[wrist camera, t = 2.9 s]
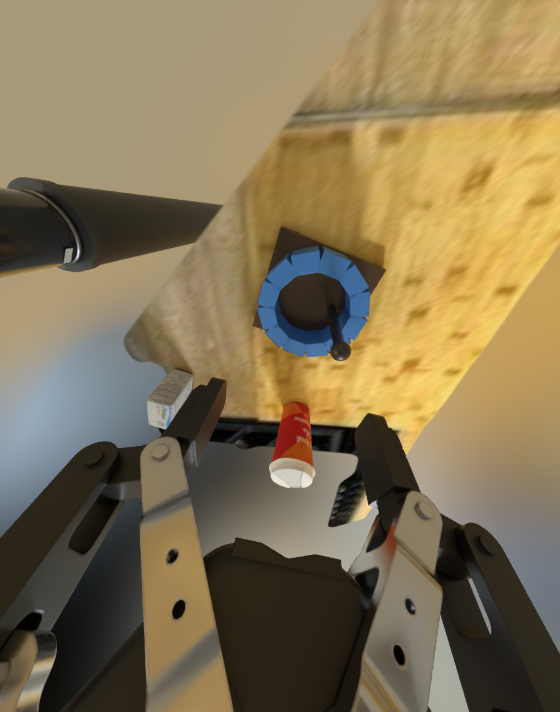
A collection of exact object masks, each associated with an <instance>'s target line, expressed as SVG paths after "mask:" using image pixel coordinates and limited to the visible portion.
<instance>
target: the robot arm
mask: <svg viewBox="0 0 560 712" xmlns="http://www.w3.org/2000/svg"><path fill="white" fill-rule="evenodd" d="M83 255H84V243H83V239H82V236H81V234H80V231H79V229H78V227H77V226H76V224H75V222H74V221H73V219H72V218H71V217H70V215H69V214H68V213H67V212H66V211H65V210H64V209H63V208H62V207H61V206H60V205H59V204H58V203H57V202H56V201H54V200H53V199H52V198H50V197H49V196H47V195H45V194H43V193H41V192H38V191H35V190H27V189H6V188H0V278H1V277H6V276H11V275H16V274H21V273H26V272H31V271H36V270H41V269H46V268H52V267H57V266H62V265H71V264H75V263H78V262H79V261H80V260H81V259H82V258H83ZM226 384H227V381H226V380H223V379H218V378H214V377H212V378H211V380H210V382H209V383H208V385H207V386H205V385H199V386H198V387H196V388H195V389H193V390H192V391H191V393H190V394H189V396H188V397H187V399H186V400H185V402H184V403H183V405H182V407H181V408H180V409H179V411H178V412H177V414H176V415H175V417H174V418H173V420H172V421H171V423H170V424H169V426H168V427H167V429H166V430H165V432H164V433H163V434H162V435H161V436H160V437H159V438H157V439H155V440H153V441H152V442H150V443H149V444H147V445H143V446H137V447H127V448H117V447H116V445H115V444H113V443H111V442H106V441H103V442H97V443H94V444H91V445H89V446H87V447H85V448H84V449H82V450H81V451H79V452H78V453H77V454H76V455H75V456H74V457H73V458H72V459H71V460H70V462H69V463H68V464H67V465H66V466H65V467H64V468H63V469H62V470H61V472H60V473H59V474H58V475H57V476H56V477H55V478H54V479H53V480H52V481H51V483H50V484H49V485H48V486H47V487H46V488H45V489H44V490H43V491H42V493H41V494H40V495H39V496H38V497H37V498H36V499H35V500H34V501H33V503H32V504H31V505H30V506H29V507H28V508H27V509H26V510H25V511H24V513H23V514H22V515H21V516H20V517H19V518H18V519H17V521H15V522H14V524H13V525H12V526H11V527H10V528H9V529H8V530H7V531H6V533H5V534H4V535H3V536H2V537H1V538H0V712H38V707H39V701H40V696H41V692H42V690H43V687H44V684H45V682H46V679H47V677H48V675H49V673H50V670H51V668H52V666H53V663H54V659H55V655H56V647H57V644H56V639H55V636H54V635H53V633H51V632H50V630H51V628H52V627H53V625H54V623H55V622H56V620H57V618H58V616H59V615H60V613H61V611H62V609H63V608H64V606H65V604H66V603H67V601H68V599H69V598H70V596H71V594H72V592H73V591H74V589H75V587H76V586H77V584H78V582H79V580H80V579H81V577H82V575H83V574H84V572H85V570H86V569H87V567H88V565H89V563H90V562H91V560H92V558H93V556H94V555H95V553H96V551H97V549H98V548H99V546H100V544H101V543H102V541H103V539H104V538H105V536H106V534H107V533H108V531H109V529H110V527H111V526H112V524H113V522H114V521H115V519H116V517H117V515H118V513H119V512H120V510H121V508H122V507H123V505H124V503H125V502H126V500H127V499H132V498H138V497H142V505H143V515H142V518H141V521H140V541H141V542H140V543H141V566H142V590H143V613H144V621H143V622H142V624H141V625H140V626H139V627H138V628H137V629H136V630H135V631H134V632H133V633H132V635H130V637H129V638H128V639H127V640H126V641H125V642H124V643H123V644H122V645H121V646H120V647H119V648H118V650H117V651H116V652H115V653H114V654H113V655H112V656H111V657H110V658H109V660H107V661H106V663H105V664H104V665H103V666H102V667H101V668H100V669H99V670H98V671H97V672H96V673H95V674H94V675H93V677H92V678H91V679H90V680H89V681H88V682H87V683H86V684H85V685H84V687H82V689H81V690H80V691H79V692H78V693H77V694H76V695H75V696H74V697H73V698H72V699H71V701H70V702H69V703H68V704H67V705H66V706H65V707H64V708H63V709H62V710H61V711H60V712H431V710H430V708H429V706H428V701H429V694H430V685H431V679H432V671H433V663H434V657H435V649H436V642H437V634H438V627H439V619H440V614H441V618H442V621H443V625H444V628H445V631H446V635H447V638H448V641H449V645H450V648H451V652H452V655H453V658H454V662H455V665H456V669H457V672H458V675H459V679H460V682H461V685H462V689H463V691H464V695H465V699H466V702H467V706H468V709H469V712H560V653H559V652H558V650H557V648H556V646H555V644H554V642H553V641H552V639H551V637H550V635H549V633H548V631H547V630H546V628H545V626H544V624H543V622H542V620H541V619H540V617H539V615H538V613H537V611H536V609H535V607H534V606H533V604H532V602H531V600H530V598H529V596H528V595H527V593H526V591H525V589H524V587H523V585H522V584H521V582H520V580H519V578H518V576H517V574H516V573H515V571H514V569H513V567H512V565H511V564H510V562H509V560H508V558H507V556H506V554H505V552H504V551H503V549H502V547H501V546H500V544H499V543H498V542H497V540H496V539H495V538H494V537H493V536H492V535H491V534H490V533H489V532H488V531H487V530H486V529H484V528H483V527H481V526H480V525H478V524H475V523H467V524H465V525H460V524H458V523H456V522H455V521H453V520H451V519H450V518H448V517H446V516H444V515H442V514H441V513H439V511H438V509H437V507H436V506H435V505H434V503H433V502H432V501H431V500H430V499H429V498H428V497H426V496H425V495H423V494H422V493H421V492H420V490H419V487H418V484H417V482H416V480H415V477H414V475H413V472H412V470H411V467H410V465H409V462H408V460H407V458H406V455H405V452H404V450H403V449H402V448H403V447H402V445H401V442H400V440H399V438H398V436H397V435H396V434H395V432H394V431H393V430H392V428H388V425H387V423H386V420H385V418H384V417H383V416H379V415H375V414H370V413H368V414H367V415H366V416H365V417H364V419H363V420H362V422H361V423H360V424H359V426H358V427H357V429H356V431H355V442H356V447H357V452H358V457H359V462H360V466H361V471H362V476H363V481H364V486H365V491H366V496H367V500H368V505H369V506H373V507H378V510H379V514H378V515H377V516H376V518H375V521H374V523H373V525H372V527H371V530H370V532H369V534H368V537H367V539H366V541H365V544H364V546H363V548H362V550H361V552H360V554H359V555H358V557H357V558H356V559H355V560H354V562H353V563H352V565H351V566H350V568H349V570H348V572H346V571H345V570H344V569H342V566H341V560H339V559H335V558H330V557H325V556H321V555H315V554H314V555H308V556H302V557H296V558H286V557H284V556H282V555H281V554H279V553H277V552H276V551H274V550H273V549H271V548H269V547H268V546H266V545H264V544H263V543H260V542H255V541H251V540H246V539H241V538H237V537H236V538H235V542H234V543H231V544H226V545H224V546H220V547H219V548H216V549H215V550H213V551H211V552H210V553H208V554H207V555H206V556H205V557H202V552H201V547H200V542H199V538H198V533H197V528H196V523H195V518H194V513H193V508H192V503H191V498H190V494H189V489H188V484H187V479H186V475H187V473H188V471H189V469H190V466H195V467H197V466H198V464H199V462H200V460H201V457H202V455H203V453H204V451H205V448H206V446H207V444H208V442H209V439H210V437H211V435H212V433H213V430H214V428H215V426H216V424H217V421H218V419H219V417H220V415H221V412H222V410H223V408H224V405H225V400H226ZM471 578H472V580H473V582H474V584H475V587H476V589H477V592H478V594H479V597H480V599H481V601H482V604H483V606H484V608H485V611H486V613H487V616H488V618H489V621H490V624H491V635H490V633H489V631H488V628H487V626H486V623H485V621H484V618H483V616H482V613H481V611H480V609H479V606H478V603H477V601H476V598H475V596H474V593H473V591H472V588H471V586H470V583H469V581H468V579H471Z"/></svg>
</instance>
